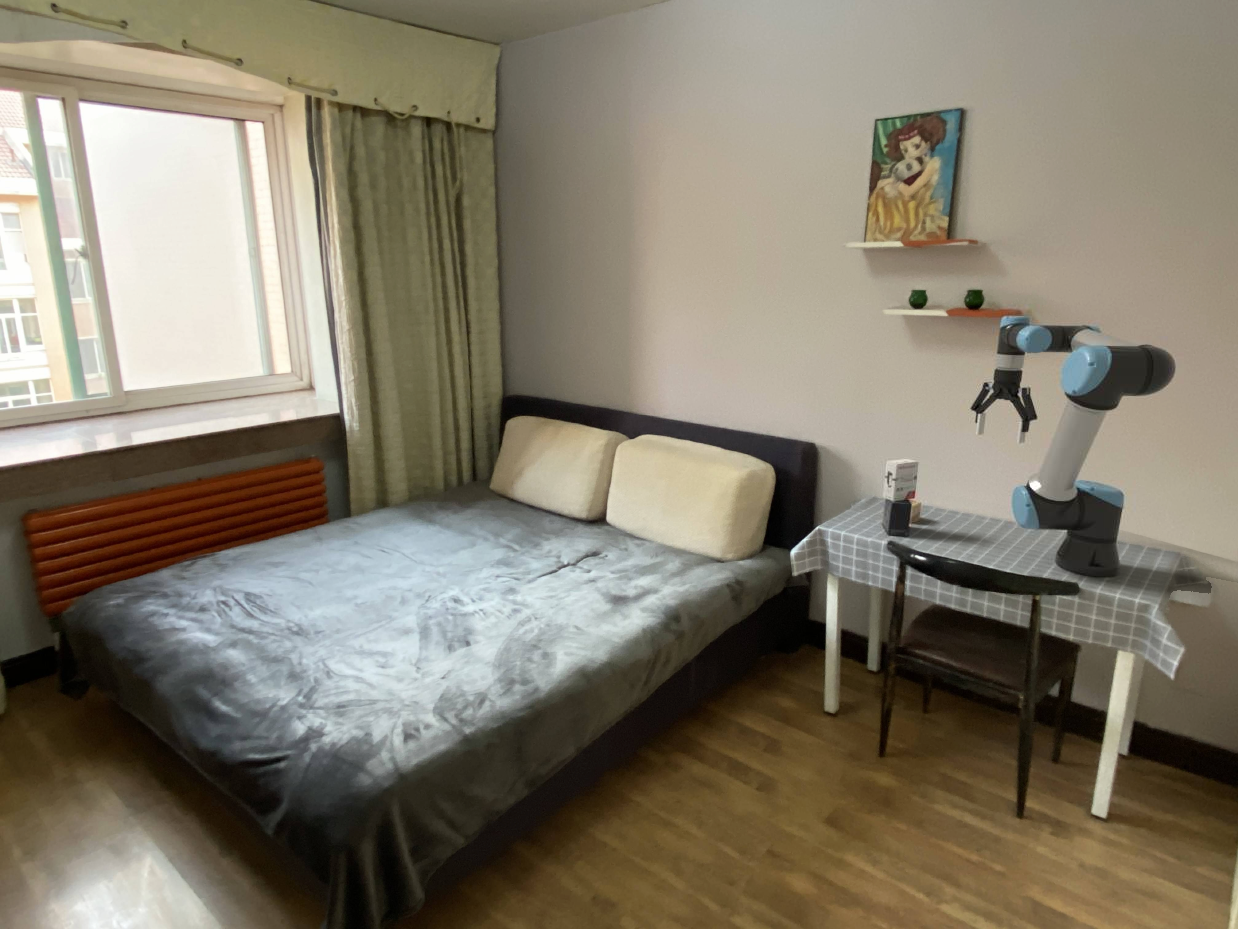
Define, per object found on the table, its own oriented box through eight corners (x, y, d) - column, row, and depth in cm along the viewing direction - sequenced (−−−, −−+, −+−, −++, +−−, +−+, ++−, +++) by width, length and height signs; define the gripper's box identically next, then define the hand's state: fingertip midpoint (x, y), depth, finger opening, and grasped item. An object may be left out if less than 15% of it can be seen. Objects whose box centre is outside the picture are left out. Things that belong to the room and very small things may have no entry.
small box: (909, 536, 231) (913, 503, 228) (887, 535, 232) (890, 502, 229) (902, 525, 241) (906, 494, 238) (881, 524, 242) (884, 492, 239)
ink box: (903, 494, 237) (907, 457, 235) (915, 498, 233) (919, 461, 230) (881, 497, 234) (885, 460, 231) (893, 501, 230) (897, 463, 227)
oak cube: (919, 519, 247) (921, 502, 246) (911, 524, 243) (913, 506, 241) (901, 515, 251) (903, 498, 250) (893, 519, 247) (894, 502, 245)
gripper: (1057, 372, 219) (1046, 444, 224) (979, 363, 240) (971, 429, 245) (1041, 374, 215) (1031, 447, 220) (963, 364, 236) (955, 432, 241)
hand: (999, 438), depth 233 cm, fingers open, 13 cm apart
